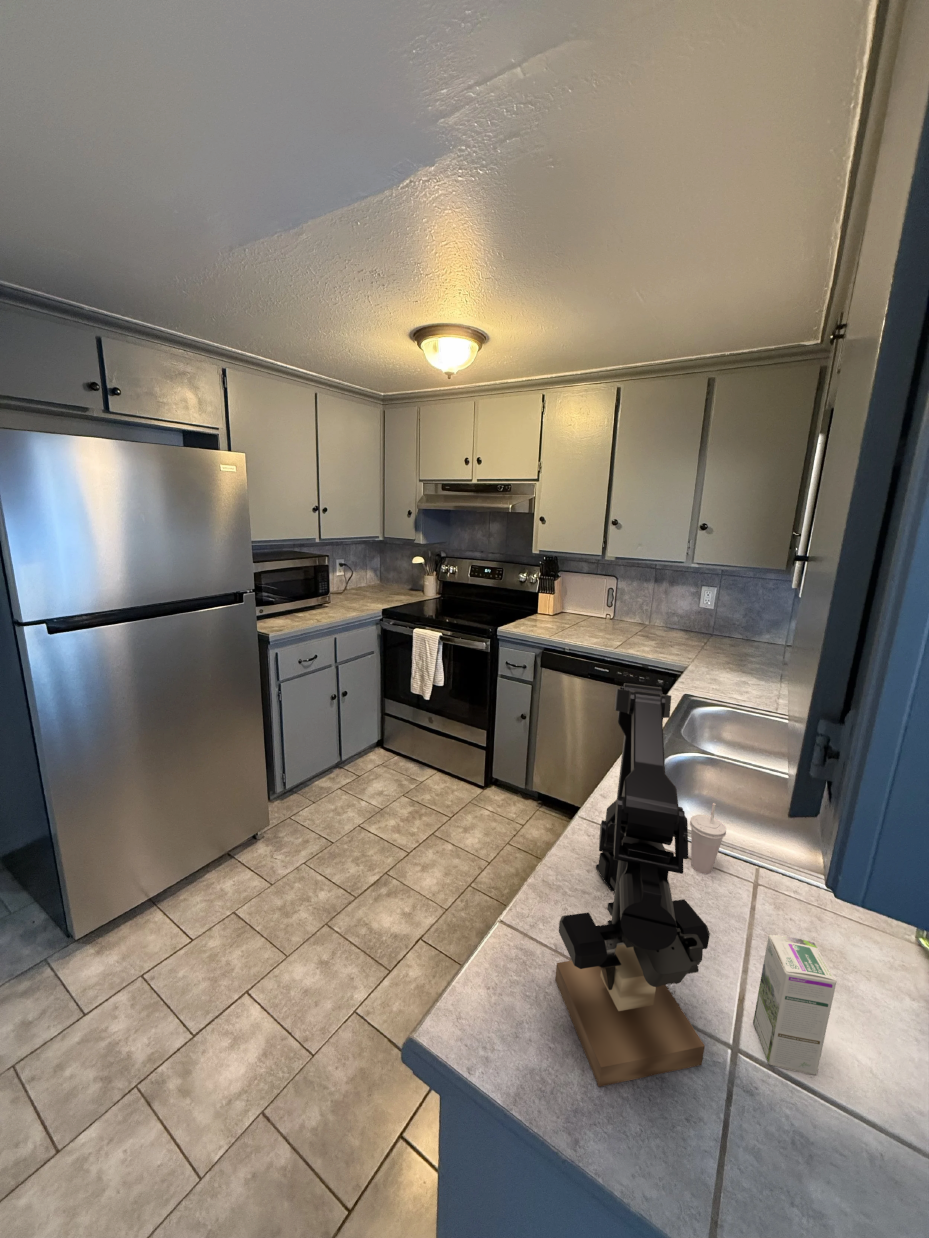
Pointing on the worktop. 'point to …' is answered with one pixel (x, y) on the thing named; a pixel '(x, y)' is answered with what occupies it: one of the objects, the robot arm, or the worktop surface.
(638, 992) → the maple cube
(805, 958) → the syrup box
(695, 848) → the smoothie
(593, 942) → the robot arm
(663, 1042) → the walnut base
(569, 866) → the worktop surface
